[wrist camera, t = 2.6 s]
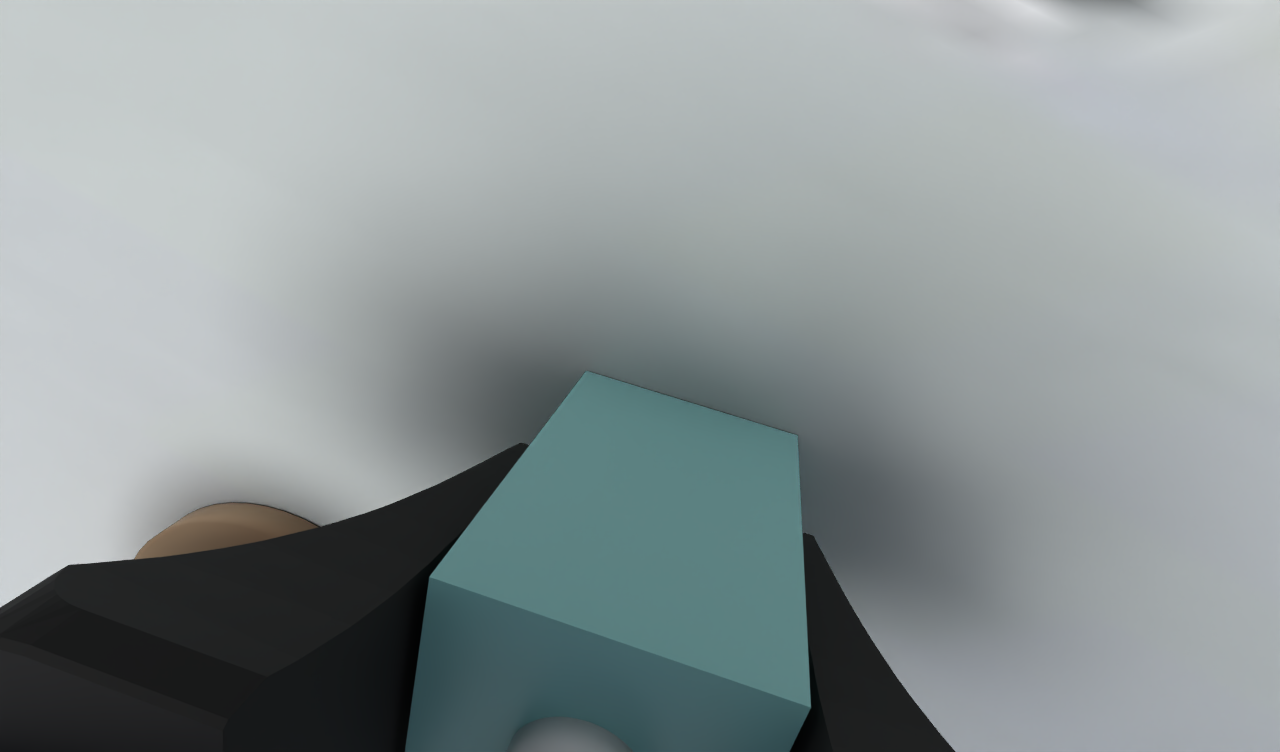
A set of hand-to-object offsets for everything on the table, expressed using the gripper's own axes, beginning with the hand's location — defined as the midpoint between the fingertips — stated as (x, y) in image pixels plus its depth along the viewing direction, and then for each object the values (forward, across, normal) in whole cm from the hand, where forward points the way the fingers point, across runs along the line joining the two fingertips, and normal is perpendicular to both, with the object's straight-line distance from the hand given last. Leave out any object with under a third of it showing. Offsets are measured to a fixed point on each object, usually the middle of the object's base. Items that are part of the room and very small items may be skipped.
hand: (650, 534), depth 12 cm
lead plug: (+1, 0, 0) cm, 1 cm away
